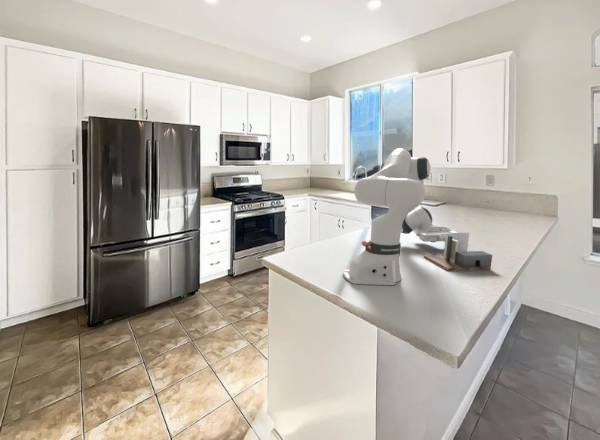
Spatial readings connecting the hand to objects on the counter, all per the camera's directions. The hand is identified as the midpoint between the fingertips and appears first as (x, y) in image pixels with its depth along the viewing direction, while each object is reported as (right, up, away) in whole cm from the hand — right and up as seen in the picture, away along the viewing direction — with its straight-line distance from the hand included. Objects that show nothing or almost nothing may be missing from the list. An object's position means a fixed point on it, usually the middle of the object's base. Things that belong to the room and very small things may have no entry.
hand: (448, 240), depth 155 cm
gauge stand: (-2, -10, -11) cm, 15 cm away
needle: (-7, -8, -14) cm, 17 cm away
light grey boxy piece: (-1, -8, -11) cm, 14 cm away
